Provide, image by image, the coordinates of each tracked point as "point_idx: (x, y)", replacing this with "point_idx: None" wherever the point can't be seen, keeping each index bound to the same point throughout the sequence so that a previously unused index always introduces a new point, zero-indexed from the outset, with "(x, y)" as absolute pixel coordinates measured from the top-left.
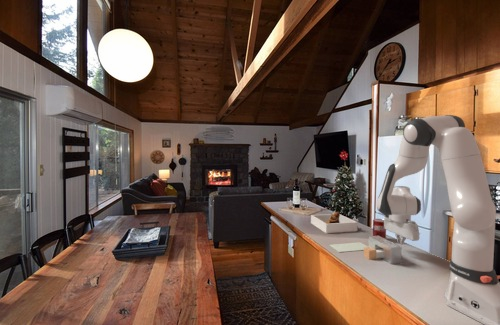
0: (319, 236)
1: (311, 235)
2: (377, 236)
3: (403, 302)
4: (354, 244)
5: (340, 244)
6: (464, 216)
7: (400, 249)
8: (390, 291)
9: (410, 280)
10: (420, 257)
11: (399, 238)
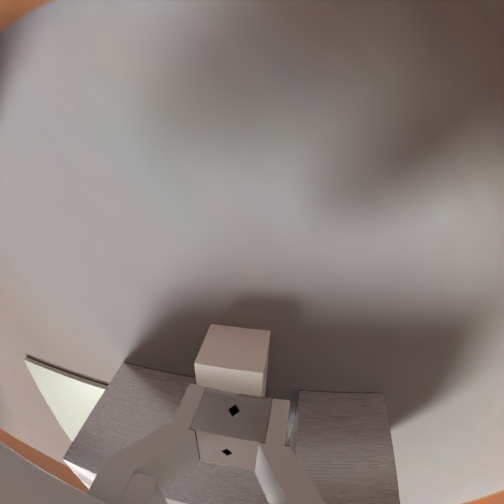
0: (13, 424)
1: (14, 433)
2: (90, 479)
3: (500, 488)
4: (65, 410)
5: None
6: None
7: (393, 496)
8: (465, 498)
9: (493, 445)
10: (374, 111)
11: (182, 454)
